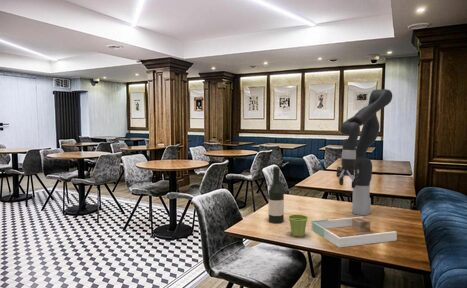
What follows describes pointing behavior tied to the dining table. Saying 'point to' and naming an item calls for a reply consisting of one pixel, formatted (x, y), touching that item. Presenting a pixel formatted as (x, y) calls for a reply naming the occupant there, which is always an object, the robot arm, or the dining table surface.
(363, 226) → the walnut block
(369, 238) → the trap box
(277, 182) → the wine bottle
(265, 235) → the dining table surface
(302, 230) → the plant pot
